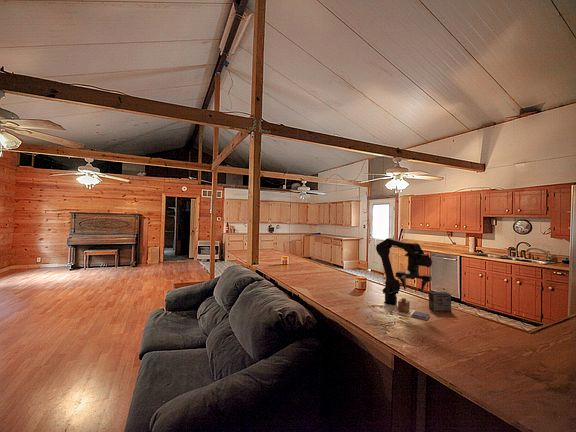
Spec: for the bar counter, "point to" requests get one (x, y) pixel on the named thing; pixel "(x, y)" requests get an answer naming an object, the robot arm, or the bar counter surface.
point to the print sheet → (403, 313)
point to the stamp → (403, 305)
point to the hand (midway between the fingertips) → (413, 290)
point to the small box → (440, 301)
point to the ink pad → (420, 315)
